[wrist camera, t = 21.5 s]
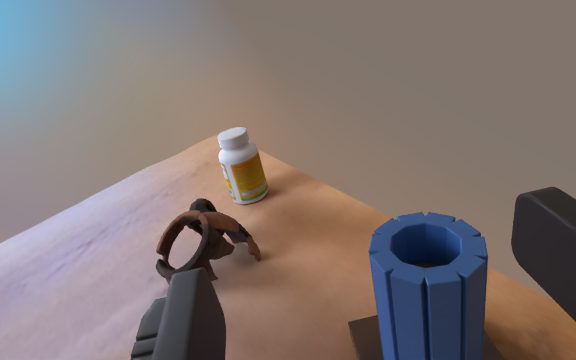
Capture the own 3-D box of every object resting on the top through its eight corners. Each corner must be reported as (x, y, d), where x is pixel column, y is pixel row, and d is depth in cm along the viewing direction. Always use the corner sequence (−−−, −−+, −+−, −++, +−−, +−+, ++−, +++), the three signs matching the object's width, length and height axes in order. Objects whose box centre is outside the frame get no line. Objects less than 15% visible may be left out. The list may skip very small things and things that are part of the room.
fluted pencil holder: (467, 423, 21) (471, 299, 17) (369, 375, 25) (350, 263, 20) (490, 342, 25) (499, 224, 21) (402, 311, 29) (392, 205, 24)
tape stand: (538, 424, 22) (558, 312, 18) (389, 459, 22) (372, 356, 18) (459, 308, 30) (460, 211, 26) (350, 334, 30) (332, 242, 26)
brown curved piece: (277, 277, 38) (225, 246, 33) (209, 328, 40) (148, 307, 34) (247, 201, 47) (202, 166, 41) (192, 245, 48) (141, 217, 43)
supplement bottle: (275, 186, 54) (259, 124, 50) (255, 207, 50) (236, 141, 46) (246, 183, 57) (228, 124, 52) (225, 203, 53) (203, 141, 49)
